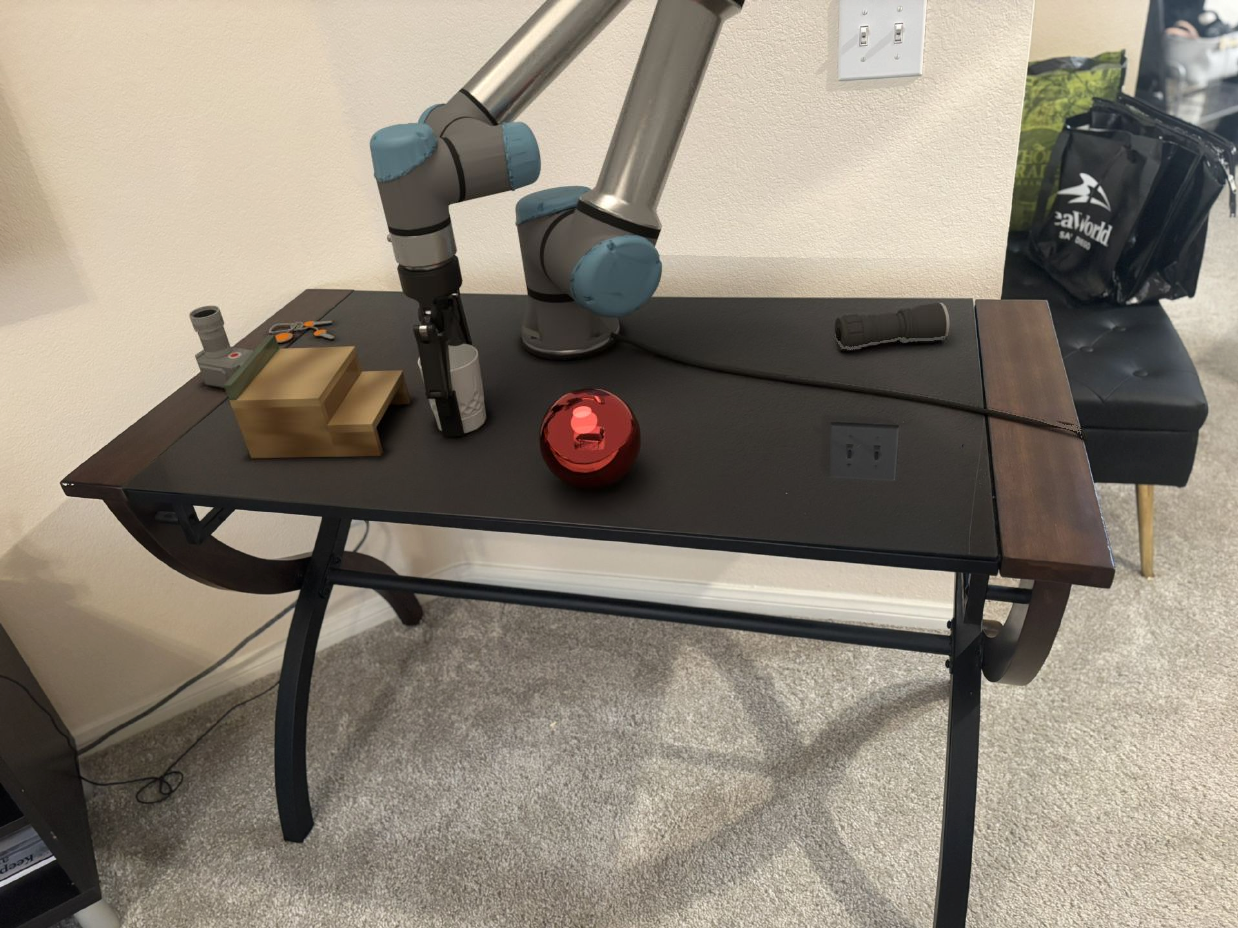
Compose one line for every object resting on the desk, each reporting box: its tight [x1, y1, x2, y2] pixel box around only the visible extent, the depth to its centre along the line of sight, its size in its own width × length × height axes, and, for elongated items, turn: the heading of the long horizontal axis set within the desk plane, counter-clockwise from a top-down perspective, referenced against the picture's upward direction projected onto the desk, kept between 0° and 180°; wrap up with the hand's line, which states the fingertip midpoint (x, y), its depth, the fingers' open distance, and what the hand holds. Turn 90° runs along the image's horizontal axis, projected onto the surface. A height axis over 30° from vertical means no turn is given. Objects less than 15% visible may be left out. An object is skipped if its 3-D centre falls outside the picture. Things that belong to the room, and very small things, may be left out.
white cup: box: [417, 344, 487, 434], centre depth 121 cm, size 8×8×10 cm
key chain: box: [268, 320, 335, 344], centre depth 151 cm, size 13×7×1 cm, turn 84°
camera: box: [188, 305, 255, 389], centre depth 135 cm, size 9×12×15 cm
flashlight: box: [834, 302, 951, 352], centre depth 130 cm, size 15×5×5 cm, turn 94°
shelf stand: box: [223, 334, 411, 459], centre depth 122 cm, size 18×14×11 cm
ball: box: [538, 387, 642, 491], centre depth 107 cm, size 12×12×12 cm
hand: (460, 417), depth 124 cm, fingers closed on white cup, 8 cm apart
